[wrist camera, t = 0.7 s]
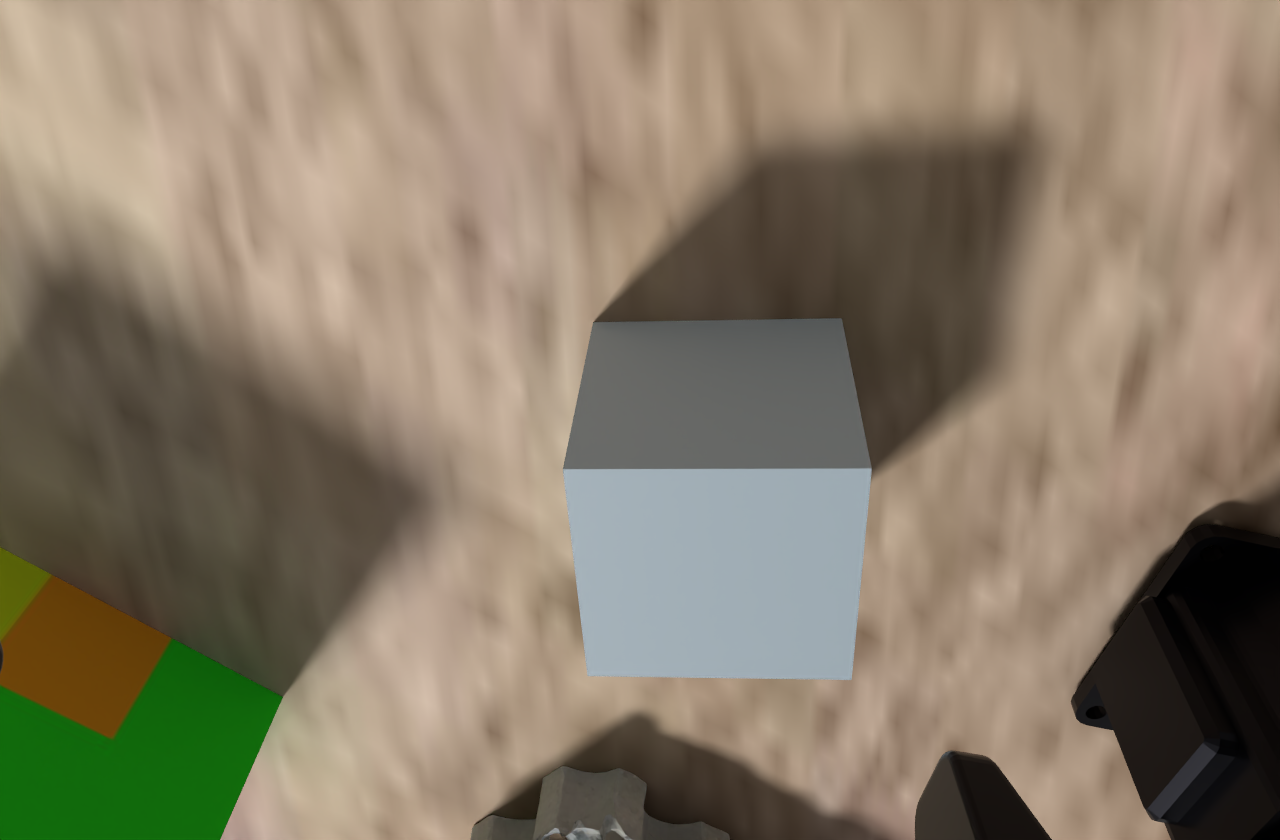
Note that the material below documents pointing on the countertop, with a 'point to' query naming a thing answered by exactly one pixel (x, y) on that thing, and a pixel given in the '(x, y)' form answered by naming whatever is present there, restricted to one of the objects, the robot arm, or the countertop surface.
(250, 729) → the puzzle toy
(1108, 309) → the countertop surface
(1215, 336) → the countertop surface
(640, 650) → the slate painted cube
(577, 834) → the egg carton
